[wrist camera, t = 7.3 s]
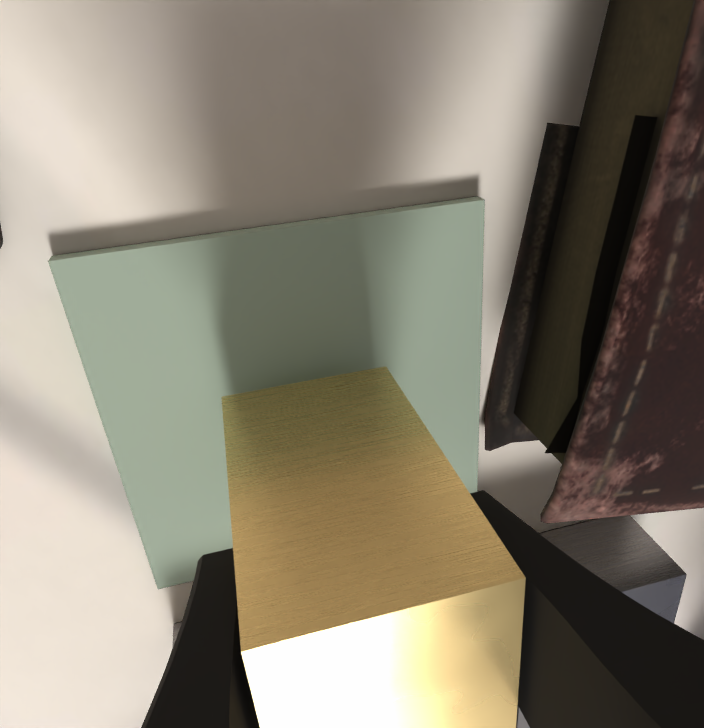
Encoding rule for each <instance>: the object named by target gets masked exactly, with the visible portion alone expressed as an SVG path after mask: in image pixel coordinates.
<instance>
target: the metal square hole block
mask: <svg viewBox="0 0 704 728" xmlns="http://www.w3.org/2000/svg"><path fill="white" fill-rule="evenodd" d="M539 534H540V535H542V536H543V537H544V538H545V539H547V540H548V541H549V542H551V543H552V544H553V545H555V546H556V547H558V548H559V549H560V550H562V551H563V552H564V553H566V554H567V555H569V556H570V557H571V558H573V559H574V560H575V561H577V562H578V563H580V564H581V565H582V566H584V567H585V568H587V569H588V570H589V571H591V572H592V573H594V574H595V575H597V576H598V577H600V578H601V579H603V580H604V581H606V582H607V583H609V584H610V585H612V586H613V587H615V588H616V589H618V590H619V591H621V592H622V593H624V594H625V595H627V596H628V597H630V598H631V599H633V600H635V601H636V602H638V603H640V604H641V605H643V606H644V607H646V608H648V609H649V610H651V611H653V612H654V613H656V614H658V615H660V616H661V617H663V618H665V619H667V620H668V621H670V622H672V623H674V621H675V617H676V613H677V609H678V605H679V602H680V598H681V594H682V590H683V586H684V583H685V579H686V575H687V574H686V573H685V572H684V571H683V570H682V569H681V568H680V567H679V566H678V565H677V564H676V563H675V562H674V561H673V560H672V559H671V558H670V557H669V555H668V554H667V553H666V552H665V551H664V550H663V549H662V548H661V547H660V546H659V545H658V544H657V543H656V542H655V541H654V540H653V539H652V538H651V537H650V536H649V535H648V534H647V533H646V532H645V531H644V530H643V529H642V527H641V526H640V525H639V524H638V523H637V522H636V521H635V520H634V519H633V518H632V517H631V516H630V515H626V516H616V517H606V518H600V519H596V520H592V521H587V522H583V523H579V524H575V525H571V526H567V527H563V528H559V529H555V530H551V531H547V532H543V533H539ZM181 623H182V622H179V623H175V624H174V626H173V646H174V644H175V641H176V638H177V635H178V632H179V629H180V626H181ZM516 728H530V727H529V725H528V723H527V721H526V719H525V718H524V716H523V714H522V712H521V710H520V708H519V707H518V705H517V719H516Z"/></svg>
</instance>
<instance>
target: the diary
mask: <svg viewBox="0 0 704 728" xmlns="http://www.w3.org/2000/svg"><path fill="white" fill-rule="evenodd" d="M534 440H540V441H541V443H542V444H543V445H544V446H545V447H546V448H547V450H546V452H545V453H552V454H553V455H554V456H555V457H556V458H557V459H558V460H559V462H560V463H561V464H562V466H561V469H560V472H559V475H558V478H557V481H556V484H555V488H554V491H553V493H552V495H551V496H550V498H549V500H548V502H547V504H546V506H545V508H544V509H543V511H542V513H541V522H545V523H556V522H566V521H576V520H586V519H596V518H606V517H616V516H626V515H636V514H646V513H656V512H666V511H676V510H685V509H695V508H704V0H610V1H609V5H608V9H607V13H606V17H605V21H604V26H603V30H602V34H601V38H600V42H599V47H598V51H597V55H596V59H595V63H594V68H593V72H592V76H591V80H590V84H589V88H588V93H587V97H586V101H585V105H584V109H583V114H582V118H581V122H580V126H579V127H578V126H569V125H561V124H552V123H547V127H546V132H545V136H544V140H543V145H542V149H541V154H540V158H539V163H538V167H537V172H536V176H535V181H534V185H533V190H532V194H531V199H530V203H529V208H528V212H527V217H526V221H525V226H524V230H523V235H522V239H521V244H520V248H519V253H518V257H517V261H516V266H515V270H514V275H513V279H512V284H511V288H510V293H509V296H508V300H507V304H506V308H505V312H504V316H503V320H502V324H501V328H500V333H499V338H498V344H497V350H496V355H495V361H494V367H493V373H492V378H491V384H490V390H489V395H488V401H487V407H486V413H485V450H489V451H491V450H494V449H496V448H499V447H501V446H504V445H507V444H509V443H512V442H523V441H534Z"/></svg>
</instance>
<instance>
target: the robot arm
mask: <svg viewBox="0 0 704 728" xmlns="http://www.w3.org/2000/svg"><path fill="white" fill-rule="evenodd" d="M470 494H471V496H472V497H473V499H474V500H475V502H476V503H477V505H478V506H479V508H480V509H481V511H482V512H483V514H484V515H485V517H486V518H487V520H488V521H489V523H490V524H491V526H492V528H493V529H494V531H495V532H496V534H497V535H498V537H499V538H500V540H501V541H502V543H503V544H504V546H505V547H506V549H507V550H508V552H509V553H510V555H511V556H512V558H513V559H514V561H515V562H516V564H517V565H518V567H519V568H520V570H521V571H522V573H523V574H524V576H525V577H526V581H525V596H524V612H523V627H522V642H521V658H520V673H519V689H518V704H517V705H518V707H519V708H520V710H521V712H522V714H523V716H524V718H525V719H526V721H527V723H528V725H529V727H530V728H704V640H702V639H701V638H699V637H697V636H695V635H693V634H691V633H690V632H688V631H686V630H684V629H683V628H681V627H679V626H677V625H676V624H674V623H672V622H670V621H668V620H667V619H665V618H663V617H661V616H660V615H658V614H656V613H654V612H653V611H651V610H649V609H648V608H646V607H644V606H643V605H641V604H640V603H638V602H636V601H635V600H633V599H631V598H630V597H628V596H627V595H625V594H624V593H622V592H621V591H619V590H618V589H616V588H615V587H613V586H612V585H610V584H609V583H607V582H606V581H604V580H603V579H601V578H600V577H598V576H597V575H595V574H594V573H592V572H591V571H589V570H588V569H587V568H585V567H584V566H582V565H581V564H580V563H578V562H577V561H575V560H574V559H573V558H571V557H570V556H569V555H567V554H566V553H564V552H563V551H562V550H560V549H559V548H558V547H556V546H555V545H553V544H552V543H551V542H549V541H548V540H547V539H545V538H544V537H543V536H542V535H540V534H539V533H538V532H536V531H535V530H534V529H532V528H531V527H530V526H529V525H527V524H526V523H525V522H523V521H522V520H521V519H520V518H518V517H517V516H516V515H515V514H513V513H512V512H511V511H509V510H508V509H507V508H506V507H504V506H503V505H502V504H501V503H499V502H498V501H497V500H496V499H494V498H493V497H492V496H490V495H489V494H488V493H486V492H485V491H484V490H483V491H478V492H474V493H470ZM141 728H260V725H259V721H258V717H257V713H256V709H255V705H254V701H253V697H252V693H251V689H250V685H249V681H248V677H247V674H246V670H245V666H244V662H243V658H242V654H241V645H240V632H239V619H238V606H237V593H236V580H235V567H234V554H233V548H230V549H226V550H222V551H217V552H213V553H209V554H204V555H202V557H201V558H200V559H199V560H198V563H197V568H196V573H195V577H194V582H193V586H192V590H191V593H190V597H189V600H188V604H187V607H186V610H185V614H184V617H183V620H182V623H181V626H180V629H179V632H178V635H177V638H176V641H175V644H174V646H173V649H172V652H171V655H170V658H169V661H168V663H167V666H166V669H165V671H164V674H163V677H162V679H161V681H160V684H159V686H158V689H157V691H156V694H155V696H154V698H153V701H152V703H151V706H150V708H149V710H148V713H147V715H146V718H145V720H144V722H143V725H142V727H141Z"/></svg>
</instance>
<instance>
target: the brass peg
mask: <svg viewBox="0 0 704 728" xmlns="http://www.w3.org/2000/svg"><path fill="white" fill-rule="evenodd" d="M221 398H222V411H223V424H224V437H225V450H226V463H227V476H228V489H229V502H230V515H231V528H232V541H233V554H234V567H235V580H236V593H237V606H238V619H239V632H240V645H241V654H242V658H243V662H244V666H245V670H246V674H247V677H248V681H249V685H250V689H251V693H252V697H253V701H254V705H255V709H256V713H257V717H258V721H259V725H260V728H516V719H517V704H518V689H519V673H520V658H521V642H522V627H523V612H524V596H525V581H526V577H525V576H524V574H523V573H522V571H521V570H520V568H519V567H518V565H517V564H516V562H515V561H514V559H513V558H512V556H511V555H510V553H509V552H508V550H507V549H506V547H505V546H504V544H503V543H502V541H501V540H500V538H499V537H498V535H497V534H496V532H495V531H494V529H493V528H492V526H491V524H490V523H489V521H488V520H487V518H486V517H485V515H484V514H483V512H482V511H481V509H480V508H479V506H478V505H477V503H476V502H475V500H474V499H473V497H472V496H471V494H470V493H469V491H468V490H467V488H466V487H465V485H464V484H463V482H462V481H461V479H460V478H459V476H458V474H457V473H456V471H455V470H454V468H453V467H452V465H451V464H450V462H449V461H448V459H447V458H446V456H445V455H444V453H443V452H442V450H441V449H440V447H439V446H438V444H437V443H436V441H435V440H434V438H433V437H432V435H431V434H430V432H429V431H428V429H427V428H426V426H425V425H424V423H423V421H422V420H421V418H420V417H419V415H418V414H417V412H416V411H415V409H414V408H413V406H412V405H411V403H410V402H409V400H408V399H407V397H406V396H405V394H404V393H403V391H402V390H401V388H400V387H399V385H398V384H397V382H396V381H395V379H394V378H393V376H392V375H391V373H390V371H389V370H388V368H387V367H386V366H384V367H379V368H373V369H368V370H362V371H357V372H352V373H346V374H341V375H336V376H330V377H325V378H320V379H314V380H309V381H304V382H298V383H293V384H288V385H282V386H277V387H271V388H266V389H261V390H255V391H250V392H245V393H239V394H234V395H229V396H223V397H221Z"/></svg>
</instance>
